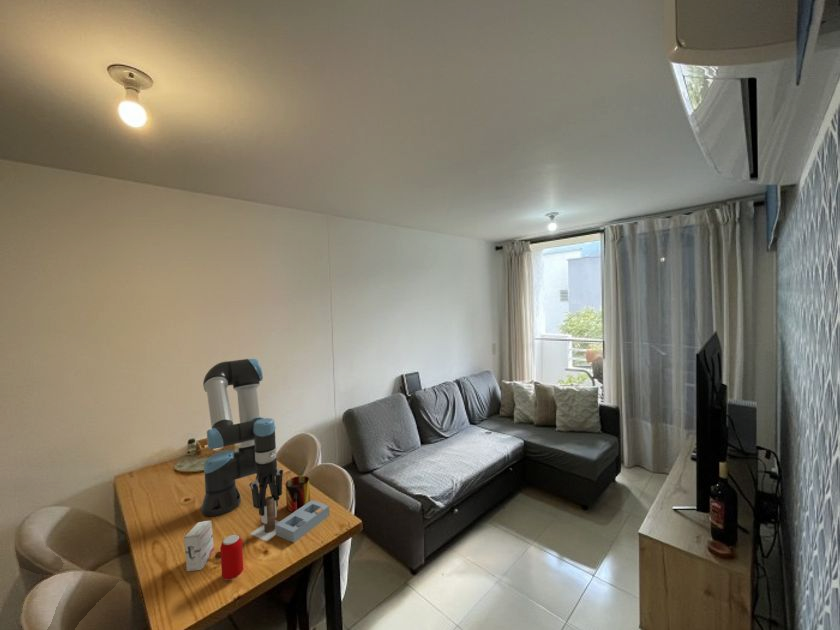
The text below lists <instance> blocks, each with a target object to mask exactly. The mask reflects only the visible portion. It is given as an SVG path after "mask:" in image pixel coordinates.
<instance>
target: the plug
mask: <svg viewBox="0 0 840 630" xmlns="http://www.w3.org/2000/svg"><path fill="white" fill-rule="evenodd" d="M265 506H267V522H268V523H267V524H265V523H263V525H264V531H265V532H266V533H269V532H272V531H273V530H274V529H275V520H276V518H275V517H274V498H273V497H272V496H271V495H270V496H266V497H265Z"/></svg>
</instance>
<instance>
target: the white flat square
mask: <svg viewBox="0 0 840 630" xmlns="http://www.w3.org/2000/svg"><path fill="white" fill-rule="evenodd" d="M278 522H280V521H279V520H276V519H275V524H277V523H278ZM249 534H250V535H251V536H253V537H256V538H258V539H260V540H263V541H264V542H268V541H270V540H271V539H273V538H274V537H276V536H277V535H276V525H275V529H274V530H273V531H272V532H269V533H266V532H265V531H264V524H263V525H261V526H259V527H258V528H257V529H255V530H253V531H251V532H250V533H249Z"/></svg>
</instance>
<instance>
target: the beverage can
mask: <svg viewBox="0 0 840 630" xmlns="http://www.w3.org/2000/svg"><path fill="white" fill-rule="evenodd" d="M219 550H220V564H221V578H222V579H223V580H225V581H231V580H234V579H236V578H237V577H238V576H240V575H241V574H242V573H243V571H244V555H243V553H244V552H243V538H241V536H239V534H232V535H228V536H227V537H225V538H224V539H223V540H222V542H221V544H220V549H219Z"/></svg>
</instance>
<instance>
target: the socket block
mask: <svg viewBox="0 0 840 630" xmlns="http://www.w3.org/2000/svg"><path fill="white" fill-rule="evenodd" d="M328 517H330V505H328V504H326V503H325V504H324V503H322V502H319V501H316V500H314V499H312V500H311V499H310V502H308V503H307V504H305V505H304V506H302V507H301V508H299V509H298V510H296V511H295V512H293V513H290V514H289V515H288V516H286V517H284V518H283V519H281V520H280V521H279V522H278V523H277V524H275V525H276V535H275V536H277V537H280V538H282V539H284V540H285V541H286V540H287V541H289V542H291V543H293V544H294V543H296V542H297V541H298V540H300V539H301V538H302V537H304V536H305V535H306V534H307V533H309V532H310V531H311V530H313V529H314V528H315V527H317V526H318V525H320V524H321V523H322V522H323V521H324V520H326V519H327V518H328Z"/></svg>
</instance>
